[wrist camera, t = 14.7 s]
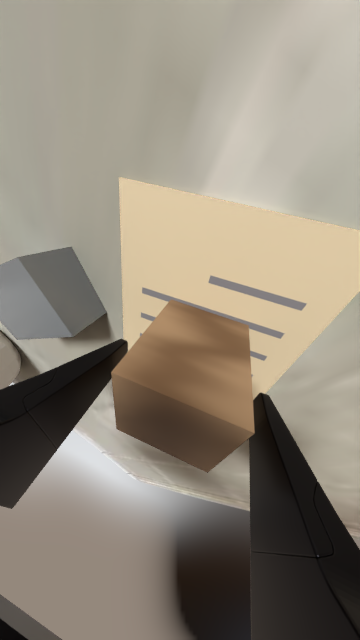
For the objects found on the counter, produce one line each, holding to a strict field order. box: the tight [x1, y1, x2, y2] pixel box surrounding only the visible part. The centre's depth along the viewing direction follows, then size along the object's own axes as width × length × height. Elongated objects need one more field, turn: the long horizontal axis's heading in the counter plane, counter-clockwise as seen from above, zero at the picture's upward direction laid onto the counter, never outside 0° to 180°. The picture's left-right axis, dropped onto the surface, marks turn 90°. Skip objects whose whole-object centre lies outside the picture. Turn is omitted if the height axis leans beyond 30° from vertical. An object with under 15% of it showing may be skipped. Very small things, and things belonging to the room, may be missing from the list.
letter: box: [119, 177, 360, 400], centre depth 12 cm, size 12×16×1 cm
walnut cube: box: [111, 299, 255, 473], centre depth 9 cm, size 5×5×6 cm
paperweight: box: [0, 247, 106, 340], centre depth 12 cm, size 7×5×4 cm
